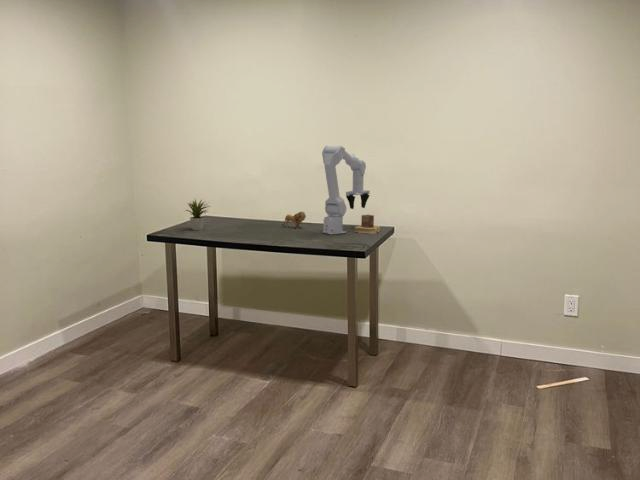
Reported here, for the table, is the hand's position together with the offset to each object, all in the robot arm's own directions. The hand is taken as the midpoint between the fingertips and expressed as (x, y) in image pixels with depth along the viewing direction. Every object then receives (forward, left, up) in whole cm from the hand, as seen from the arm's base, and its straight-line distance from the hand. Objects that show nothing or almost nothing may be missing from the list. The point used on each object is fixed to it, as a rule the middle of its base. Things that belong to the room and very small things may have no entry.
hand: (357, 208), depth 322 cm
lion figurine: (-29, +18, -11) cm, 36 cm away
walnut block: (-4, -14, -8) cm, 17 cm away
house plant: (-76, +38, -11) cm, 86 cm away
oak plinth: (-4, -14, -10) cm, 18 cm away
